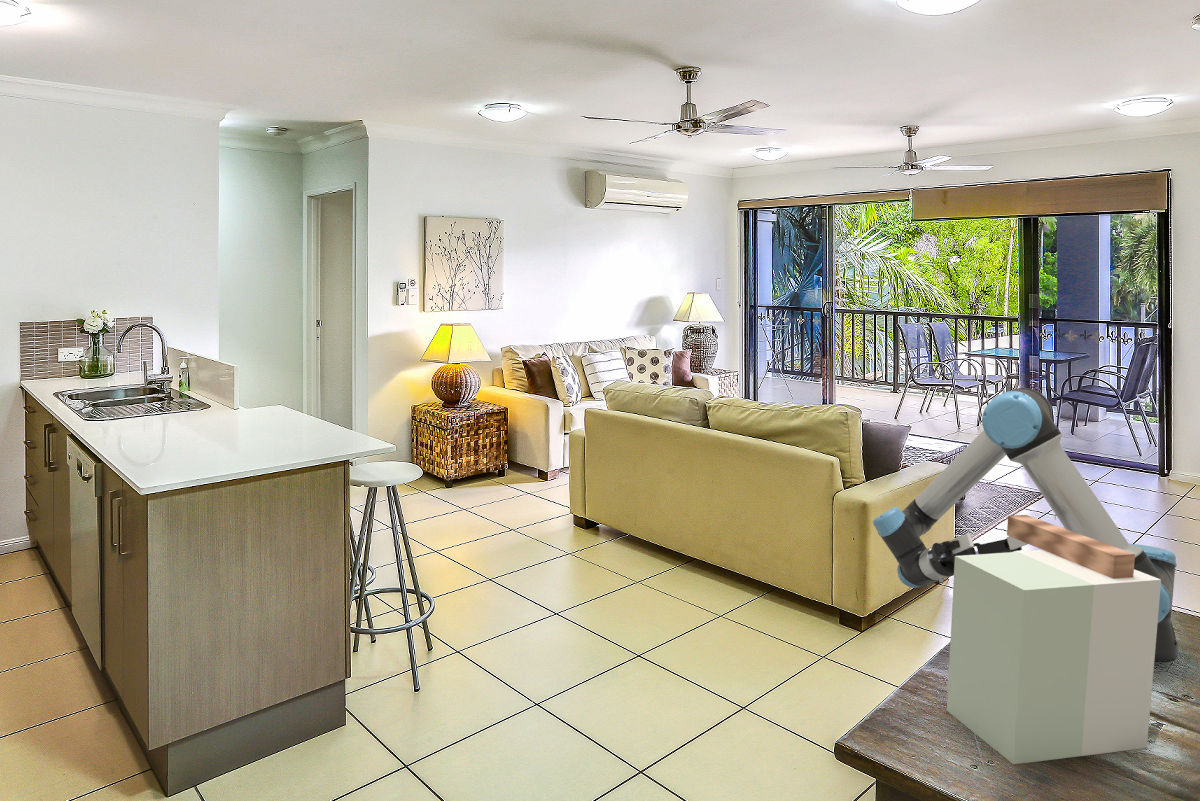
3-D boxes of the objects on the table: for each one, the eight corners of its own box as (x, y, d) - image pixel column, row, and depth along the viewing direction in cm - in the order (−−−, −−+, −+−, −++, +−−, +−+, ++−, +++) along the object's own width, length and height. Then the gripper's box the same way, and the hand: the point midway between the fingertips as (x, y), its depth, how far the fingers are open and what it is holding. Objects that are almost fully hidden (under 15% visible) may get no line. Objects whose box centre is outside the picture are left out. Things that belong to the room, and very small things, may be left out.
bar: (1006, 535, 159) (1008, 515, 159) (1024, 534, 160) (1025, 514, 159) (1112, 578, 134) (1114, 555, 133) (1133, 577, 135) (1135, 554, 134)
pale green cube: (946, 710, 149) (954, 556, 146) (1067, 697, 154) (1078, 547, 151) (1013, 764, 132) (1024, 590, 128) (1146, 748, 137) (1161, 579, 133)
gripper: (997, 573, 183) (1059, 552, 164) (898, 580, 179) (950, 559, 160) (987, 541, 186) (1047, 517, 167) (890, 547, 182) (940, 523, 163)
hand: (1000, 537), depth 163 cm, fingers open, 13 cm apart
